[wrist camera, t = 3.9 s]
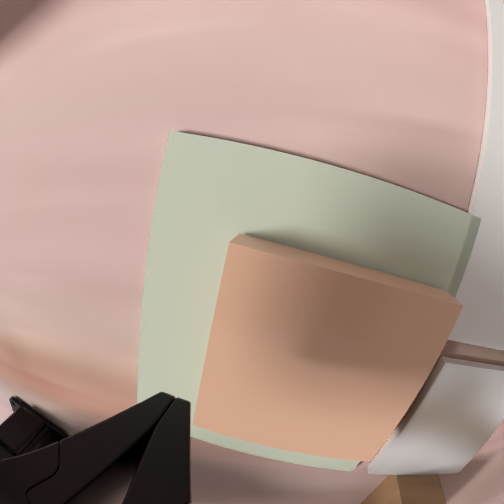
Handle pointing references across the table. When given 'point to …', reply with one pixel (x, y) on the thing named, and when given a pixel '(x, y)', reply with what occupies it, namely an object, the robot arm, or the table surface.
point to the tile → (317, 350)
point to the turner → (439, 432)
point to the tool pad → (487, 211)
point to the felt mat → (278, 231)
